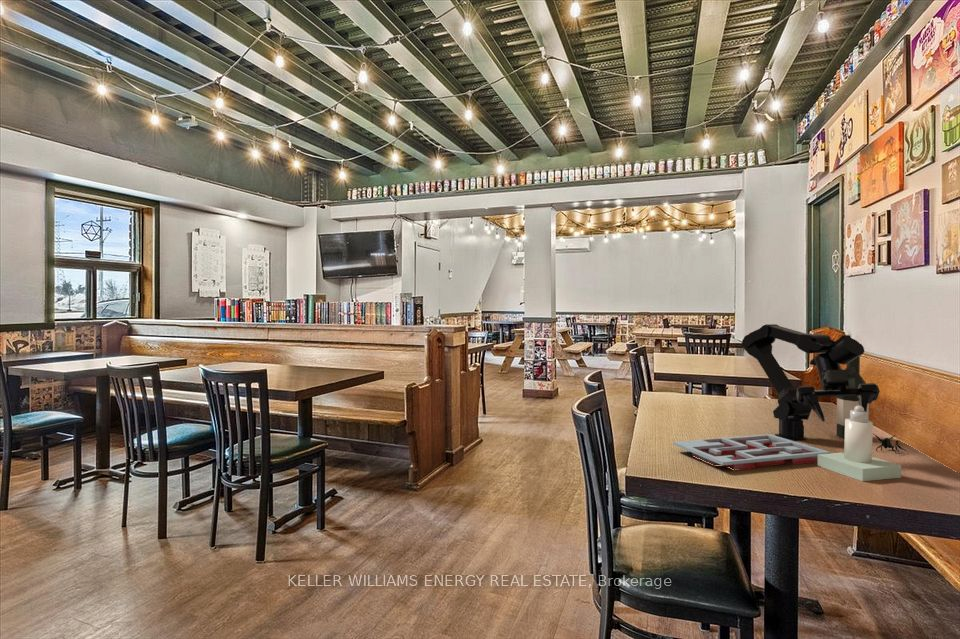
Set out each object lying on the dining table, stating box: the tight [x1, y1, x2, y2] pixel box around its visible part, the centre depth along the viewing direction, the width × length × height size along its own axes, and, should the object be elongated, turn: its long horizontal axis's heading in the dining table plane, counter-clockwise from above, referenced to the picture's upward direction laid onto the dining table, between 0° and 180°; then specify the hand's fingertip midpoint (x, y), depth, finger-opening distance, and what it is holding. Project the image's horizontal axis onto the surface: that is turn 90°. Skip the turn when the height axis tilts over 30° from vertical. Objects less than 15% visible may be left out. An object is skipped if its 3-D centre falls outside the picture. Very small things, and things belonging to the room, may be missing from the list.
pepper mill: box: [843, 405, 874, 463], centre depth 123 cm, size 6×6×14 cm
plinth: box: [817, 451, 902, 482], centre depth 123 cm, size 12×12×3 cm
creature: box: [873, 433, 909, 455], centre depth 140 cm, size 8×5×8 cm
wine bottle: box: [836, 355, 870, 439], centre depth 156 cm, size 8×8×30 cm
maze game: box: [672, 433, 831, 470], centre depth 136 cm, size 35×20×3 cm, turn 105°
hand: (843, 420), depth 132 cm, fingers open, 9 cm apart
